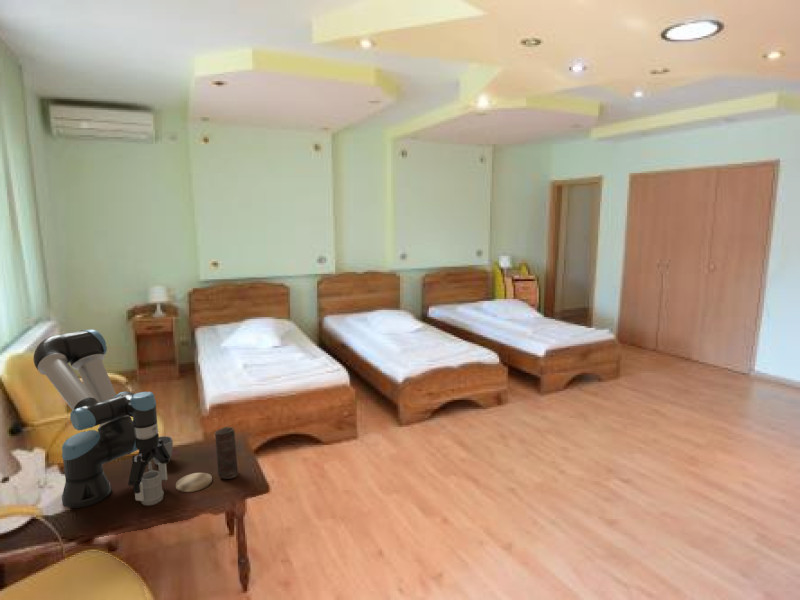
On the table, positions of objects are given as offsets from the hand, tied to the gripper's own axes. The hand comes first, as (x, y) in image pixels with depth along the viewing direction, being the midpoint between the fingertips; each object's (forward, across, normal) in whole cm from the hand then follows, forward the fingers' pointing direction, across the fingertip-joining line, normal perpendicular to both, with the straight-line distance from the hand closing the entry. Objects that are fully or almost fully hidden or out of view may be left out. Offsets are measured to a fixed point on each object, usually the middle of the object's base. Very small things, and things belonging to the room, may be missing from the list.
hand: (152, 489), depth 176 cm
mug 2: (+3, 0, 0) cm, 3 cm away
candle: (+4, +18, -20) cm, 27 cm away
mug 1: (+3, +25, +13) cm, 29 cm away
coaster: (+3, +11, -10) cm, 15 cm away
